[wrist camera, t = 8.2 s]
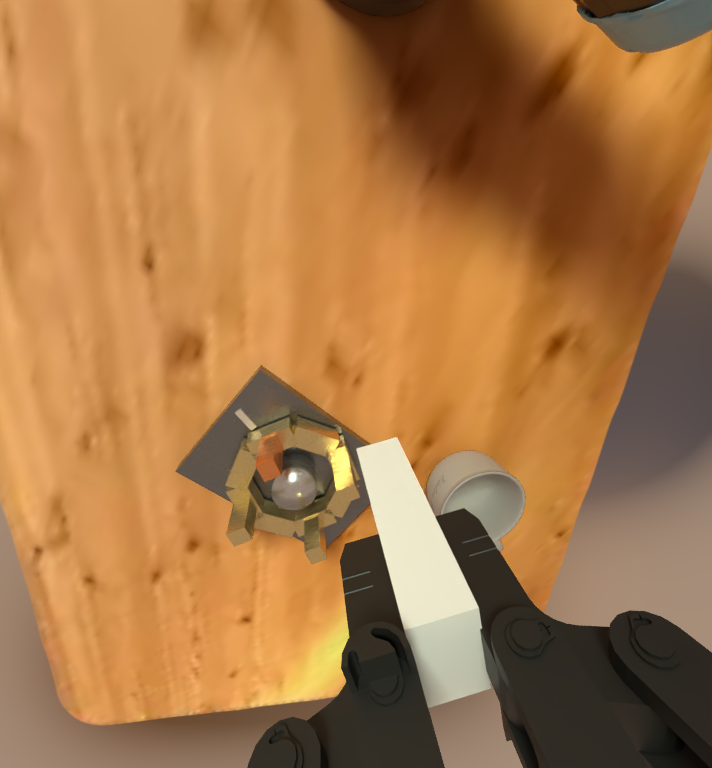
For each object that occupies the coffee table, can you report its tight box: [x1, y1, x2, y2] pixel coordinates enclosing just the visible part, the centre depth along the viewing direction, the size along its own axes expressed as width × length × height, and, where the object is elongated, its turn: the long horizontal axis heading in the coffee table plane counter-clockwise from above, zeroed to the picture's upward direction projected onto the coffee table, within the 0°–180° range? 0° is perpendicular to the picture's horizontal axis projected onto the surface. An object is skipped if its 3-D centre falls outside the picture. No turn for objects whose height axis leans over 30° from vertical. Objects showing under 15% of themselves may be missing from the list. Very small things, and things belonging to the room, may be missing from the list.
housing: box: [176, 365, 371, 548], centre depth 44 cm, size 16×22×6 cm
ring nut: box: [225, 417, 360, 564], centre depth 42 cm, size 14×14×8 cm
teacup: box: [426, 451, 525, 552], centre depth 48 cm, size 14×11×8 cm
